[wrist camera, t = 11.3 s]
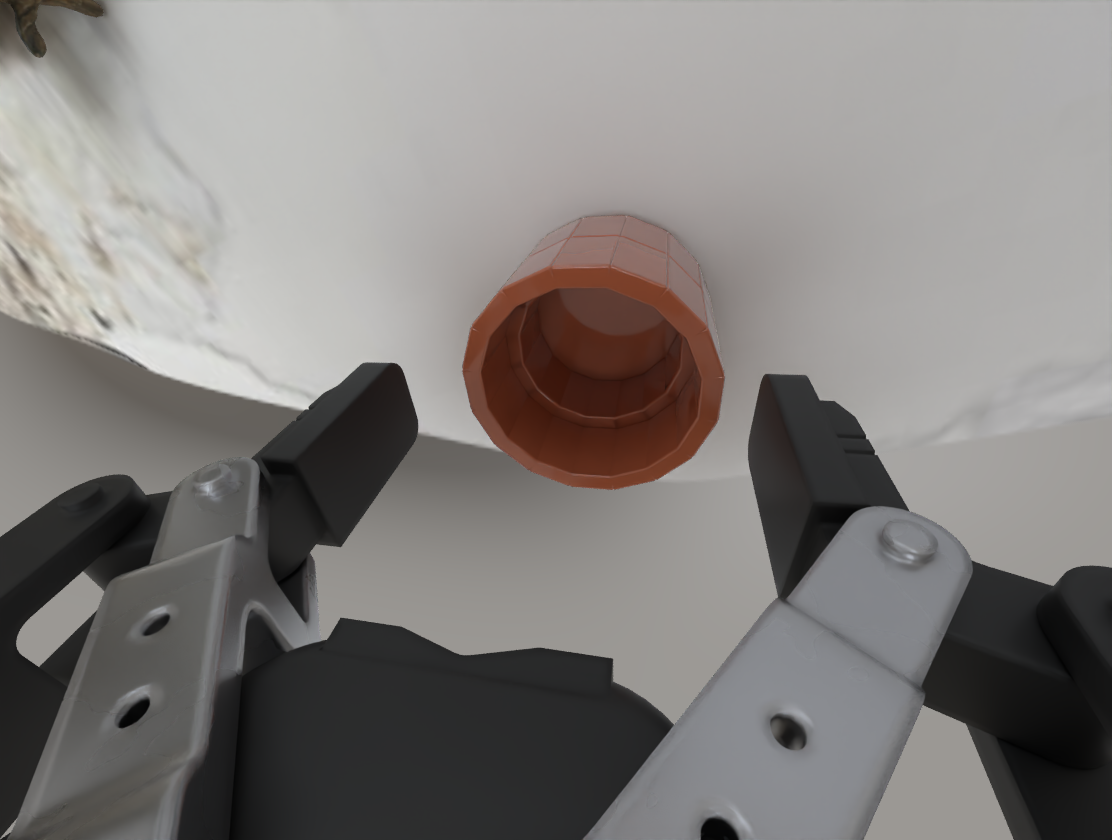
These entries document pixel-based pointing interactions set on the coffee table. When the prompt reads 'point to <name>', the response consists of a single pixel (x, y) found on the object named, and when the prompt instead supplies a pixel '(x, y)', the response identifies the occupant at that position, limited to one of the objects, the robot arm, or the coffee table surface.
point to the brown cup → (598, 356)
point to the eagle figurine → (25, 10)
